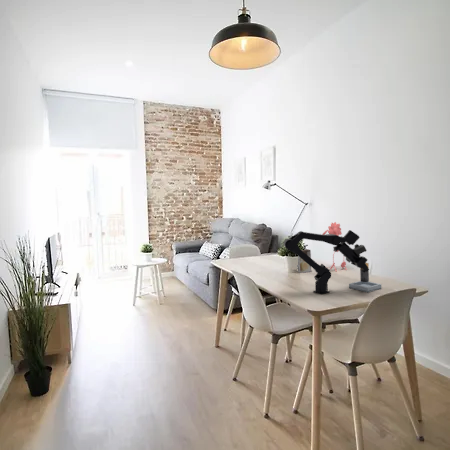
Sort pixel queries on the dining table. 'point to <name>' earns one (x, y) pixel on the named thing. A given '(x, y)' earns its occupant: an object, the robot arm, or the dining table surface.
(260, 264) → the dining table surface
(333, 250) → the robot arm
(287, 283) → the dining table surface
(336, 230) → the pink flower sprig
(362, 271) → the big battery
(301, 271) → the coffee box
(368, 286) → the grey tray
